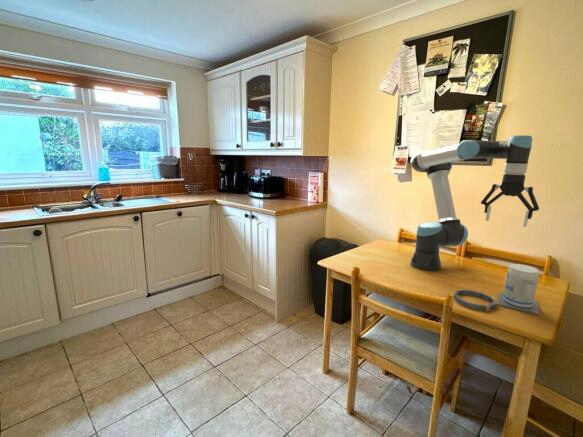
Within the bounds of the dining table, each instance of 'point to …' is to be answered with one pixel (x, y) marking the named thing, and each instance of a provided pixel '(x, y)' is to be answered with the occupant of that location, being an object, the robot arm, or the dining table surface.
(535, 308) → the trivet
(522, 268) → the supplement tub
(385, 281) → the dining table surface
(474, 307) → the collar
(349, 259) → the dining table surface
